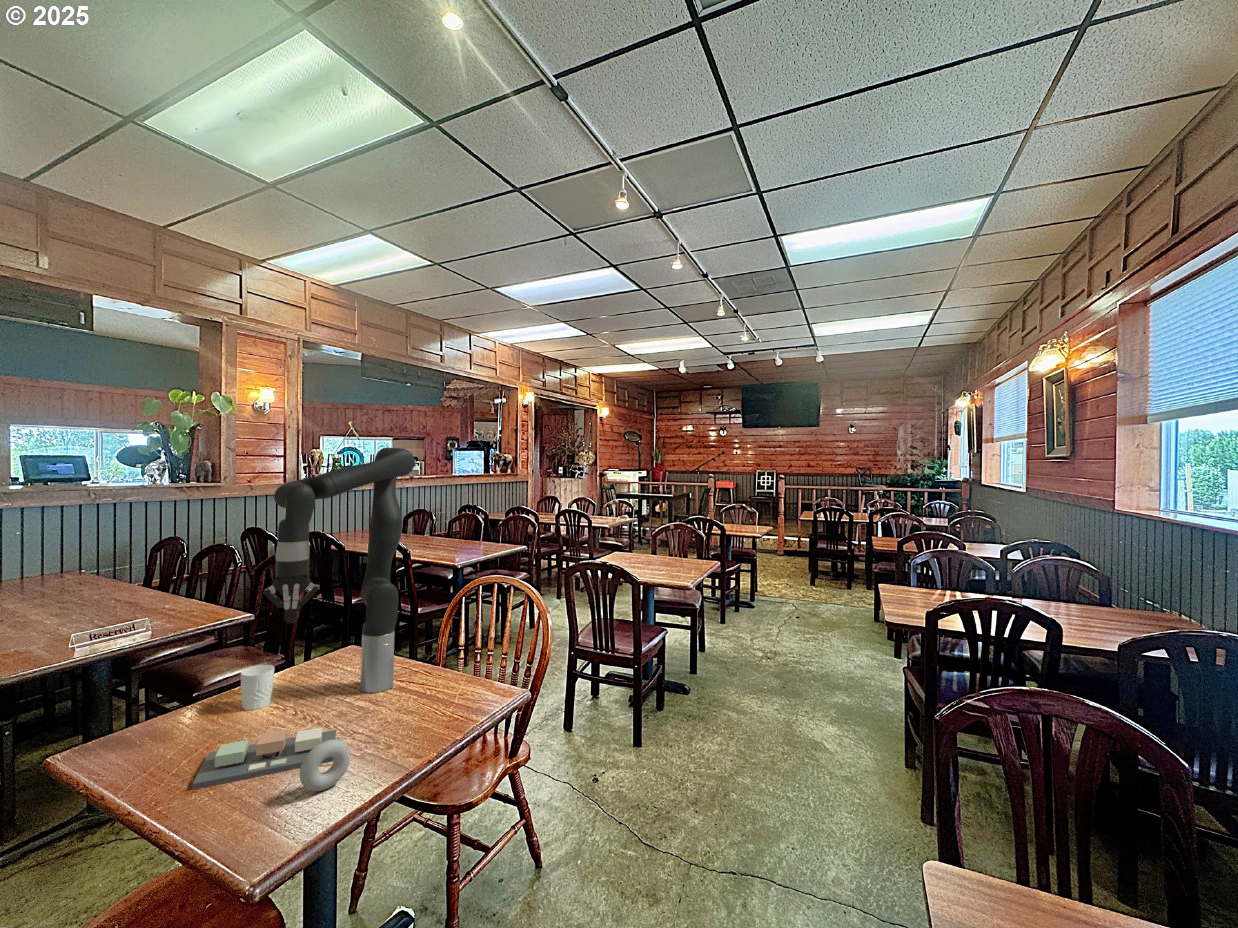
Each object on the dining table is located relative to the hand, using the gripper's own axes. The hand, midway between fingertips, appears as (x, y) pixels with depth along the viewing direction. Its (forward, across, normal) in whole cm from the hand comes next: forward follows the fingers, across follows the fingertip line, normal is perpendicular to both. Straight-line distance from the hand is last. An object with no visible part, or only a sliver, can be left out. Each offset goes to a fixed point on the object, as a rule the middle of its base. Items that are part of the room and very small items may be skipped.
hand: (290, 622), depth 135 cm
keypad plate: (+27, +1, +18) cm, 32 cm away
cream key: (+26, -6, +18) cm, 33 cm away
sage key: (+26, +9, +18) cm, 33 cm away
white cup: (+27, +9, -15) cm, 32 cm away
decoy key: (+26, +1, +18) cm, 31 cm away
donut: (+27, -11, +35) cm, 46 cm away
